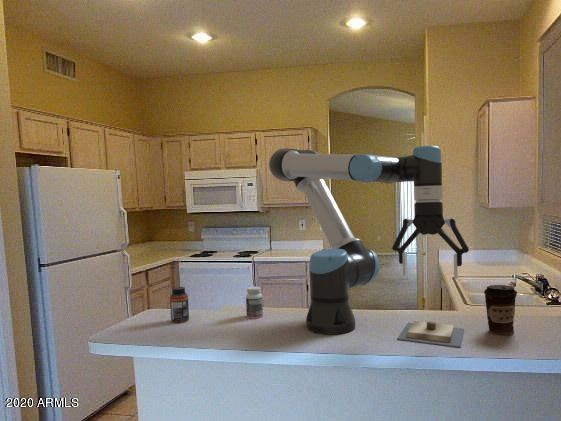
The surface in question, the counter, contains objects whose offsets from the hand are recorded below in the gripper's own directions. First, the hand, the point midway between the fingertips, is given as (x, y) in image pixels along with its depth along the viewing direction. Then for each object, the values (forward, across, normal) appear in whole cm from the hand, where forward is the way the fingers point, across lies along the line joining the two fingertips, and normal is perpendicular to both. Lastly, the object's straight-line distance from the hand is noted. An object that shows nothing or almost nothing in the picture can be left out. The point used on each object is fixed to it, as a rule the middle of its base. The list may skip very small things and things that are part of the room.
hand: (429, 276), depth 114 cm
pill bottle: (+17, -57, -3) cm, 59 cm away
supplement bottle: (+17, -78, -17) cm, 81 cm away
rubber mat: (+16, 0, 0) cm, 17 cm away
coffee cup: (+17, +18, +9) cm, 26 cm away
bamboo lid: (+16, 0, 0) cm, 16 cm away
